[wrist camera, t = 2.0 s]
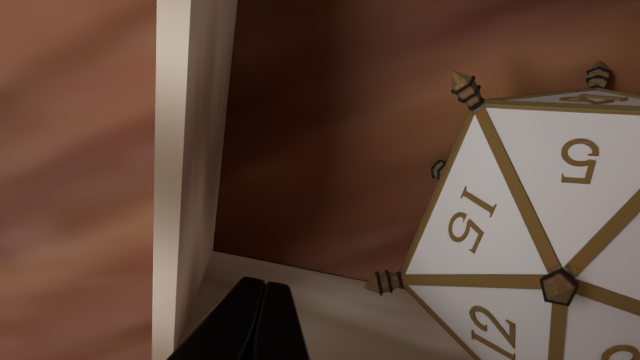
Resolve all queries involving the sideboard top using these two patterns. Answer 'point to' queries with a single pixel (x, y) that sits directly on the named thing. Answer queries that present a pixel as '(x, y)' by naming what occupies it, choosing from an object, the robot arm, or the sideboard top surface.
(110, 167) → the sideboard top surface
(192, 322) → the cubby
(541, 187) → the game die
